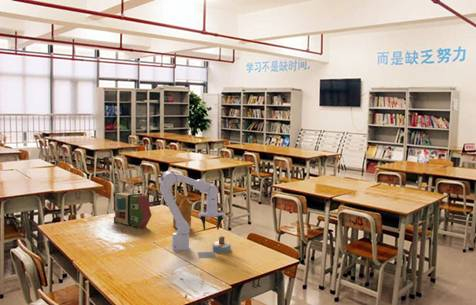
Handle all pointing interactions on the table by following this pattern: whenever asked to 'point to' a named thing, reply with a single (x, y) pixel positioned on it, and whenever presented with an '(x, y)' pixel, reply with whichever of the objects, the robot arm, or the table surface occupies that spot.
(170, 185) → the robot arm
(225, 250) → the bowl
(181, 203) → the coffee package
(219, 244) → the lid
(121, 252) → the table surface
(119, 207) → the model house
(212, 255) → the mat
